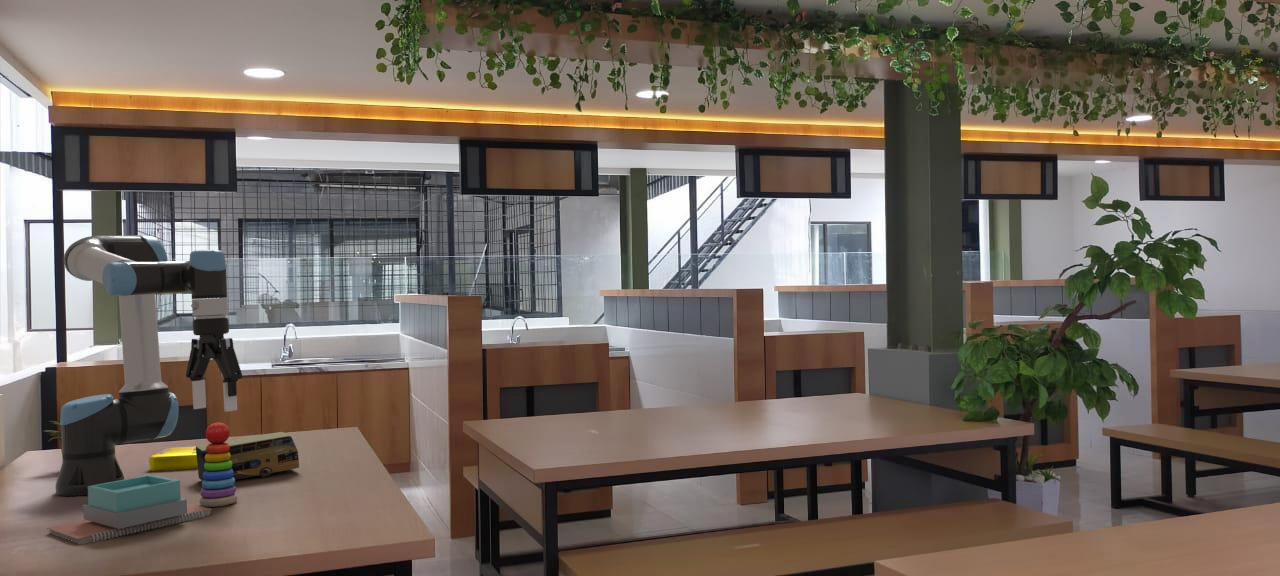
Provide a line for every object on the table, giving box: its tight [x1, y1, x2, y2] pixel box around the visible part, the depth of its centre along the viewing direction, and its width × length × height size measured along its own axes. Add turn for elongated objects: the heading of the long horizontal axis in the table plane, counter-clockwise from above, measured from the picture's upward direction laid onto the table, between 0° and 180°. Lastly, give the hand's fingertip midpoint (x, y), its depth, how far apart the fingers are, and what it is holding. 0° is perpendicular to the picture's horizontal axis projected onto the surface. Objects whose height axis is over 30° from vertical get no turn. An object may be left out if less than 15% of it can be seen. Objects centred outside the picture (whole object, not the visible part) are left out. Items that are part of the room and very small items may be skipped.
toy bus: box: [195, 431, 300, 482], centre depth 250 cm, size 10×23×10 cm, turn 124°
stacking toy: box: [199, 421, 238, 508], centre depth 219 cm, size 8×8×19 cm
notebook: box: [46, 502, 213, 545], centre depth 203 cm, size 27×17×2 cm, turn 141°
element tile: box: [148, 445, 198, 472], centre depth 272 cm, size 15×15×5 cm
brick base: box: [82, 474, 188, 529], centre depth 201 cm, size 16×14×7 cm
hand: (215, 409), depth 219 cm, fingers open, 13 cm apart
